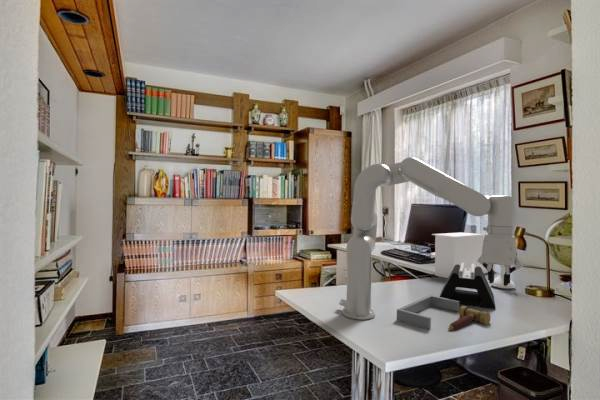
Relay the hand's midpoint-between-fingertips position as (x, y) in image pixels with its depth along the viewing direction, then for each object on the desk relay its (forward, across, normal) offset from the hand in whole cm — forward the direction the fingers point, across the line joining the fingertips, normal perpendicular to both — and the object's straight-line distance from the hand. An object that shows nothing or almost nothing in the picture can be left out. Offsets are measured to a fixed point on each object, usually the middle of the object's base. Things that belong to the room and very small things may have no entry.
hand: (498, 283), depth 119 cm
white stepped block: (+18, -44, +93) cm, 105 cm away
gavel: (+18, -11, 0) cm, 21 cm away
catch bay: (+17, -24, 0) cm, 30 cm away
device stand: (+18, -22, +36) cm, 46 cm away
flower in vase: (+17, -16, +72) cm, 76 cm away
